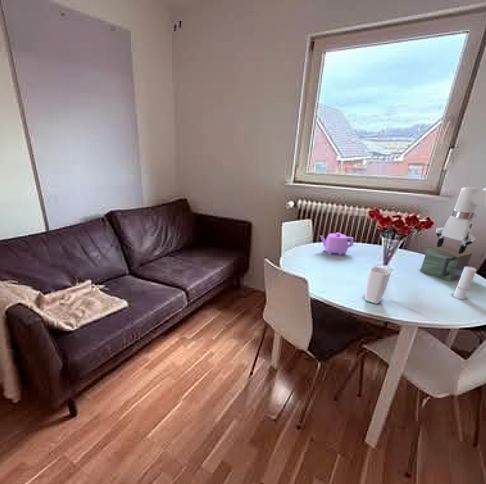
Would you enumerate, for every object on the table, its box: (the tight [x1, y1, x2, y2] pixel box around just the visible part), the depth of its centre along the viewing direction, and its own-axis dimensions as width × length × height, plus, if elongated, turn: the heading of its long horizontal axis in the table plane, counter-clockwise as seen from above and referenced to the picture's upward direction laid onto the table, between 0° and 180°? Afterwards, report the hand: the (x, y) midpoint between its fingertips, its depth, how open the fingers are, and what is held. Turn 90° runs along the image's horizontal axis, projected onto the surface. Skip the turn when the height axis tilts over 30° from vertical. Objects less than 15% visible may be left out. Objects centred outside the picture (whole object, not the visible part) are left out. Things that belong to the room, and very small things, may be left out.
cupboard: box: [428, 244, 473, 282], centre depth 163 cm, size 11×15×14 cm
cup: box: [364, 266, 392, 305], centre depth 136 cm, size 7×7×15 cm
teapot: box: [319, 232, 354, 256], centre depth 193 cm, size 20×12×13 cm, turn 77°
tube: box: [453, 266, 478, 300], centre depth 139 cm, size 4×4×15 cm
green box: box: [419, 247, 460, 282], centre depth 160 cm, size 6×15×14 cm, turn 27°
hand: (449, 249), depth 150 cm, fingers open, 9 cm apart
